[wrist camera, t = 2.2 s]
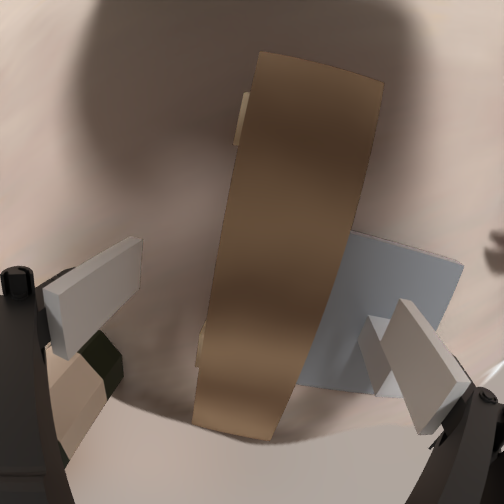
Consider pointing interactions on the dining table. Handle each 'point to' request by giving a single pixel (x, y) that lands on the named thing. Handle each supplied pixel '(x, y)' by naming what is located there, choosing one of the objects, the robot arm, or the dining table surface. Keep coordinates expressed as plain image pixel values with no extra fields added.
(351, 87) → the walnut beam
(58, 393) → the wine bottle
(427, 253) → the fulcrum
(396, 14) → the dining table surface
